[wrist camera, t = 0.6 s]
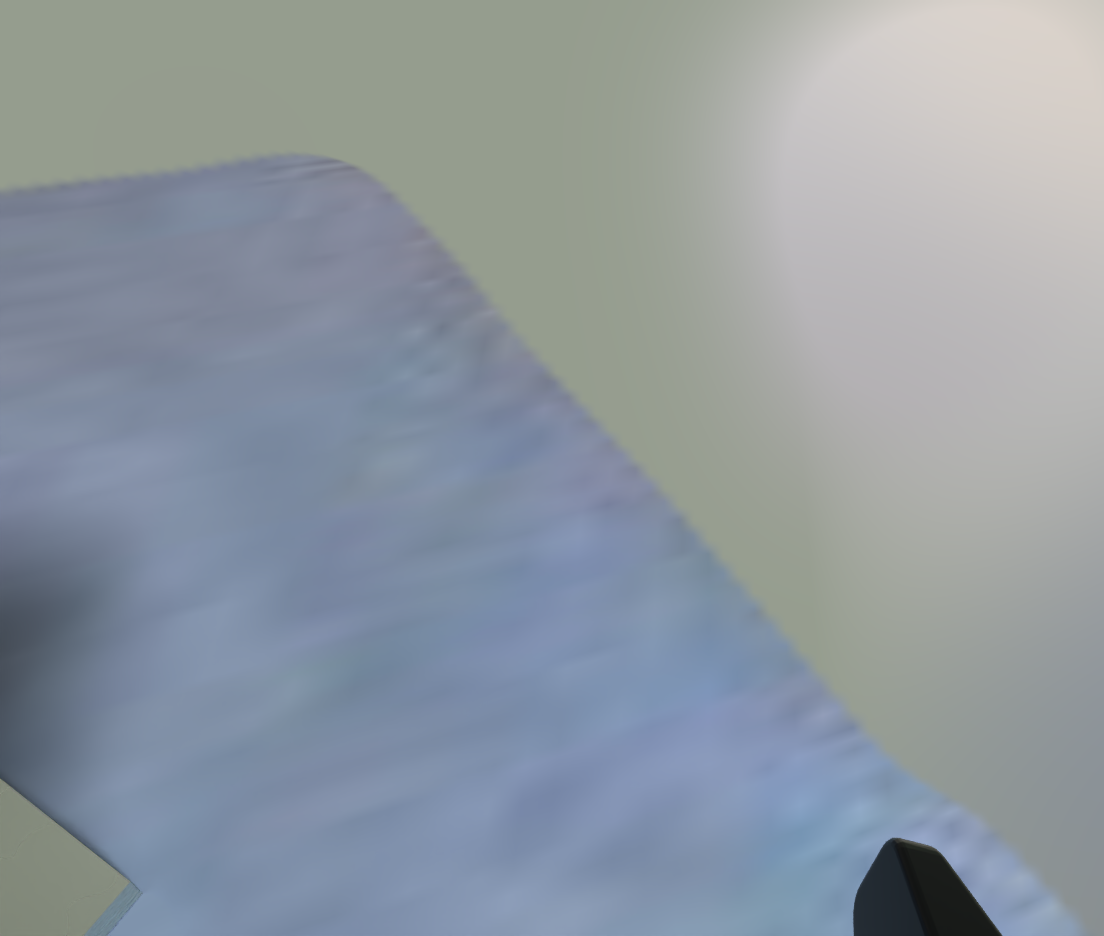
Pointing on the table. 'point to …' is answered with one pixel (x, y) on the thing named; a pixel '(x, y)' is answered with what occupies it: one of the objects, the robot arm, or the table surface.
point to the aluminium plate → (53, 877)
